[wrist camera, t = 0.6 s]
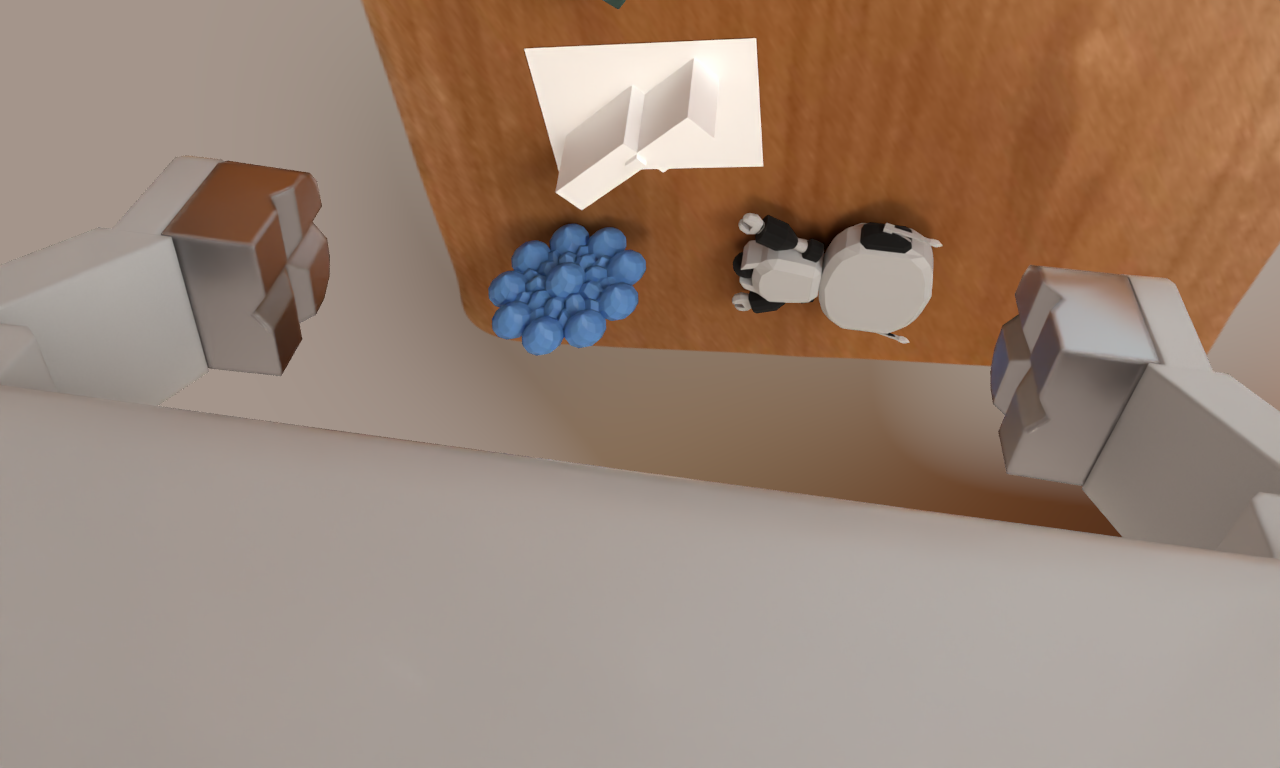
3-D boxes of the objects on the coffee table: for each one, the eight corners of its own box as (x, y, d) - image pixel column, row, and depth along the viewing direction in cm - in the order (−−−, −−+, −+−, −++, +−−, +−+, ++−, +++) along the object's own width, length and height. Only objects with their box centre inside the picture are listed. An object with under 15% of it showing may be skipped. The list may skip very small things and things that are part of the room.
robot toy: (733, 283, 87) (916, 306, 86) (726, 327, 85) (914, 351, 83) (742, 180, 77) (950, 204, 75) (734, 227, 75) (949, 253, 73)
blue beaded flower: (513, 259, 86) (487, 383, 80) (497, 203, 81) (468, 331, 74) (654, 263, 85) (639, 389, 79) (648, 206, 79) (631, 337, 73)
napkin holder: (559, 173, 77) (548, 233, 74) (521, 48, 68) (506, 111, 65) (765, 166, 74) (762, 228, 71) (755, 35, 65) (752, 100, 62)
